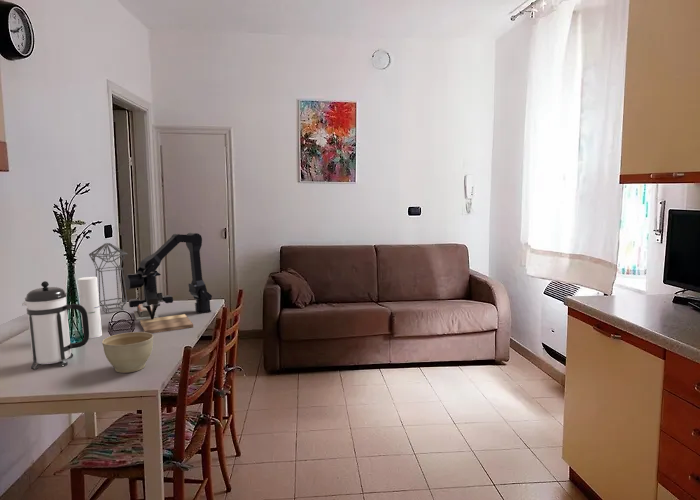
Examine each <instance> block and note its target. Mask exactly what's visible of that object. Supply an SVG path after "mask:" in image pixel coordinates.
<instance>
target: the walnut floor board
mask: <svg viewBox="0 0 700 500" xmlns="http://www.w3.org/2000/svg"><path fill="white" fill-rule="evenodd" d="M141 327H142V330H143V332H147V333H151V334H156V333H157V334H158V333H164V332H170V331H179V330H184V329H190V328H192V329H193V328H194V323H193V322H192V321H191V319H190V318H189V317H188V316H187V317H186V318H178V319H171V320H163V321H156V322H148V323H142V325H141Z"/></svg>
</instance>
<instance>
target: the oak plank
mask: <svg viewBox="0 0 700 500" xmlns="http://www.w3.org/2000/svg"><path fill="white" fill-rule="evenodd" d="M186 317H188V316H187V314H185V313H183V314H175V315H167V316H161V317H159V316H158V318H154V319H144V320H140V321H139V322H140V325H141V326H142V323H148V322H156V321H163V320H171V319H178V318H186Z"/></svg>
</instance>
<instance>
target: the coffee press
mask: <svg viewBox="0 0 700 500" xmlns="http://www.w3.org/2000/svg"><path fill="white" fill-rule="evenodd" d="M40 285H41V287H39V288H35V289H32V290H30V291H28V292H27V294H26V297H24V301H23V302H22V303H21V307H23V306H24V307H25V306H26V314H27V319H28V327H29V337H30V347H31V355H32V364H31V366H30V369H31V370H35V369H36V370H37V369H38V368H39V367H40V366H41V365H51V364H57V363H59V364H60V365H61V366H62V365H64V366H63V367H66V366H68V361H67V360H68V359H73V357H74V354H73V353H72V349H77V348H81V347H84V346H85V345H86V344H87V343H88V341H89V340H90V338H89V324H88V315H87V312H86V310H85V308H84V307H83V306H81V305H80V303H79V304H78V303H72V304H68V303H67V296H68V293H67V292H65V290H64V289H63V288H61V287H57V286H56V287H55V286H49V282H48V281H42V282H41V284H40ZM68 310H77V311H79V313H80V315H81V314H82V317H81V323H82V322H83V328H82V334H83V333H84V338H82V340H81V341H79V342H71V340H70V339H71V338H70V328H69V316H68ZM65 365H66V366H65ZM36 370H35V371H36Z"/></svg>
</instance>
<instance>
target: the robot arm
mask: <svg viewBox="0 0 700 500" xmlns="http://www.w3.org/2000/svg"><path fill="white" fill-rule="evenodd" d="M180 243H185V245H186V248H187V250H188V251H189V257H190V258H189V260H190V267H191V268H190V270H191V278H192V279H191V282H190V283H188V284H187V285H188V292H189V293H190V295H191V296H192V297H193V299H194V300H195V302H194V308H195V309H194V310H195V312H196V313H197V314H204V313H212V310H211V300H212V297H213V295H212V294H211V293H209V291H208V290H207V286H206V283H205V281H204V279H203V273H202V263H201V252H200V251H201V248H202V246H203V244H202V243H203V236H202V235H201V234H200V233H199V232H198V233H196V232H189V233H187V234H180V233H173V234H172V235H171V236H170V237H169V238H168V240H166V241H165V242H164V243H163V244H162V245H161V246H159V248H158V249H157V250H156V251H154V253H152V254H150V255H148V256H146V257H144V258H143V259H142V260H140V262H139V267H138V269H137V270H136V272H135V273H127V274H126V275H125V276H126V277H125V278H124V282H125V289H126V290H129V291H130V290H134V289H140V288H143V297H144V298H143V299H140V300H139V298H137V297H136V298H130V299H129V300H128V306H129V308H137V307H138V306H139V305H141V304H142V306H143V307H144V308H147V310H148V312H149V315H150V317H151V319H154V315H155V312H156V310H157V309H158V307H160V306H161V304H160V303H161V302H164V303H165V304H171V303H174V298H173V296H172V295H171V294H165V295H163V292H158V285H157V277H158V276H159V277H160V276H161V273H159V272H158V268H159V266H160V265H161V262H162V261H163V259H164V258H165V257H166V256H167V255H169V254H170V252H172V250H173V249H175V248H176V247H177V246H178V244H180ZM150 305H152V312H151V307H150ZM156 313H157V312H156Z"/></svg>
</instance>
